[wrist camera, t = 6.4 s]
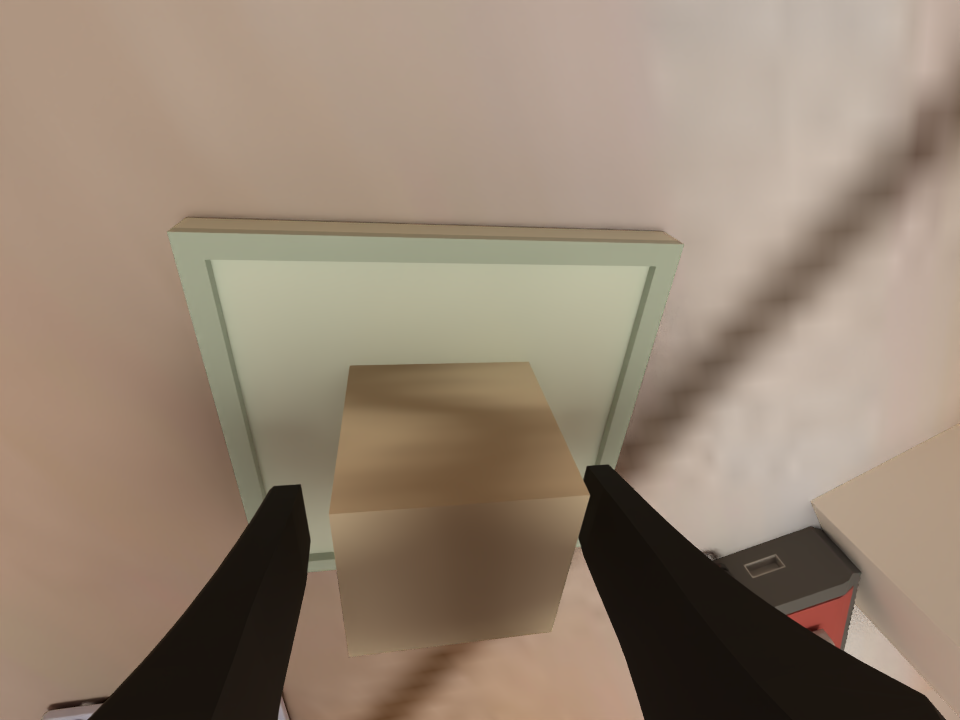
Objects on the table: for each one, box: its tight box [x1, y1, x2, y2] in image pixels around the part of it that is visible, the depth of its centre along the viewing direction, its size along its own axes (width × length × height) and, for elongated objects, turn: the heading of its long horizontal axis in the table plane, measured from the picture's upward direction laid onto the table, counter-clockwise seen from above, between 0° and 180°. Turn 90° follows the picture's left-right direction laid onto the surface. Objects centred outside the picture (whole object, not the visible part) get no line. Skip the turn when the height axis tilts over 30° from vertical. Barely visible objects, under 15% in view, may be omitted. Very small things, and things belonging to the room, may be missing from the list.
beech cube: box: [329, 362, 590, 657], centre depth 12 cm, size 5×5×5 cm
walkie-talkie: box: [713, 526, 862, 651], centre depth 26 cm, size 9×4×20 cm
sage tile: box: [167, 218, 684, 572], centre depth 15 cm, size 12×12×1 cm
